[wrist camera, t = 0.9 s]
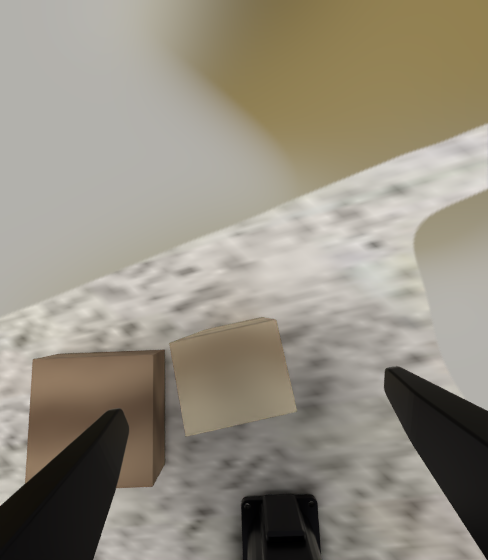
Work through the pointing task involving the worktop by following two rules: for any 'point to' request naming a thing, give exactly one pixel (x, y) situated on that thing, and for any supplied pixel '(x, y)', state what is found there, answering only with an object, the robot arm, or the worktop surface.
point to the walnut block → (99, 407)
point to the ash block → (231, 376)
